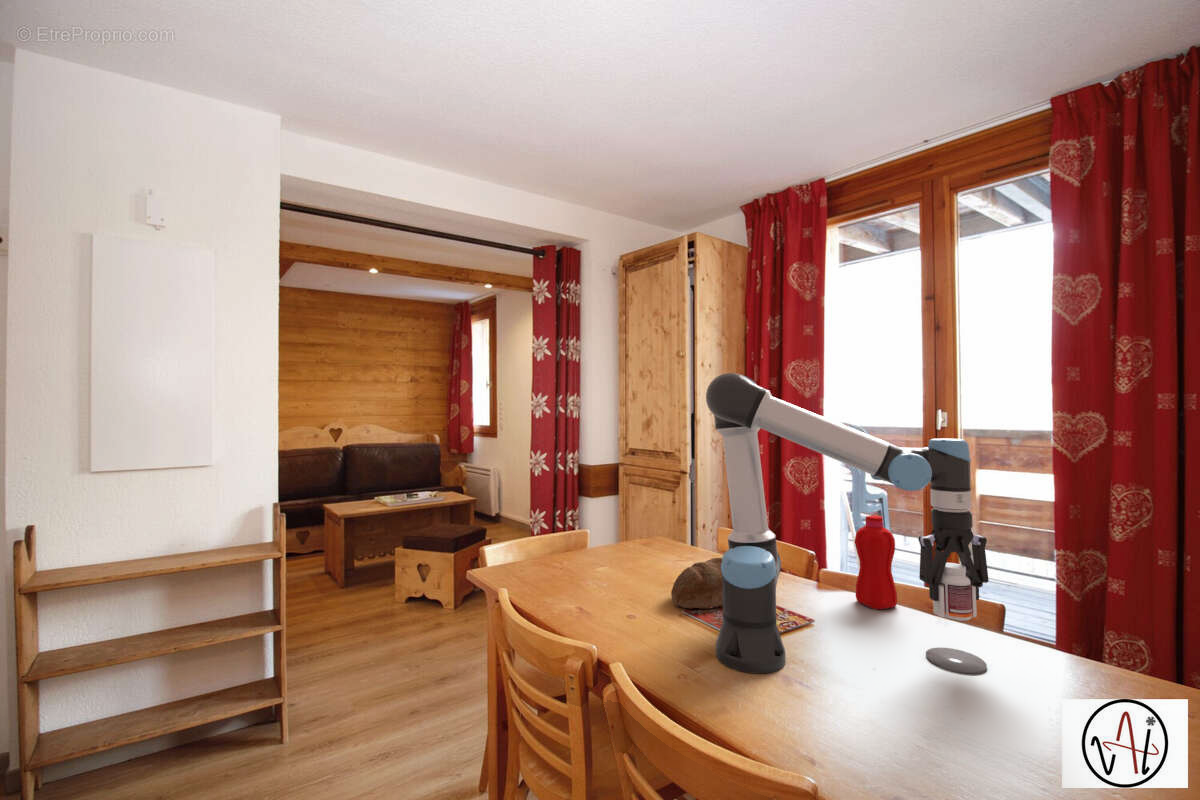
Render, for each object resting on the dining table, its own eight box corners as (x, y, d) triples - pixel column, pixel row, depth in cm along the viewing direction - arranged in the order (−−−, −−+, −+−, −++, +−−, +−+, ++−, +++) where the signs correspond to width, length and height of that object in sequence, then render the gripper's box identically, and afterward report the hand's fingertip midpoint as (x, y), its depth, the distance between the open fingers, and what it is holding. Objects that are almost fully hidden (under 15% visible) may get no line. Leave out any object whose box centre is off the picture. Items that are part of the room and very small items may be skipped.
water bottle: (871, 595, 157) (868, 510, 157) (902, 607, 146) (900, 517, 147) (846, 598, 154) (844, 512, 155) (876, 612, 144) (874, 520, 144)
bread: (768, 595, 158) (767, 557, 158) (696, 618, 142) (696, 575, 142) (729, 582, 171) (728, 546, 171) (659, 601, 155) (658, 562, 155)
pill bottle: (977, 617, 115) (975, 566, 115) (964, 624, 111) (962, 571, 111) (946, 608, 120) (944, 559, 120) (932, 614, 116) (931, 564, 117)
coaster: (946, 674, 110) (946, 671, 110) (915, 650, 121) (915, 647, 121) (999, 673, 110) (999, 670, 110) (963, 649, 121) (963, 647, 121)
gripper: (917, 513, 112) (921, 622, 112) (1008, 511, 112) (1012, 621, 112) (897, 506, 120) (901, 609, 119) (982, 505, 120) (986, 607, 119)
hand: (954, 614), depth 115 cm, fingers closed on pill bottle, 6 cm apart
